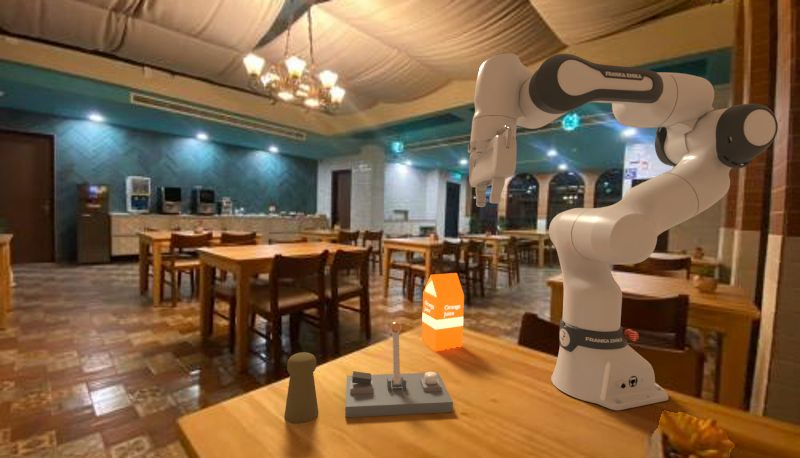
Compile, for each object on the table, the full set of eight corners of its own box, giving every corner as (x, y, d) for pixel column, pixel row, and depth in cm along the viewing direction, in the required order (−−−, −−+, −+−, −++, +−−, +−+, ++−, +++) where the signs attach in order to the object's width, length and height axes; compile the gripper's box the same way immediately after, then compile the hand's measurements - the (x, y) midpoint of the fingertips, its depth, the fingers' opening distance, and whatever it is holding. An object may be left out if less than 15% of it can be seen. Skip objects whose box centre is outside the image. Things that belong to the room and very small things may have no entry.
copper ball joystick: (401, 386, 73) (400, 321, 77) (403, 387, 71) (401, 321, 75) (390, 386, 73) (389, 322, 77) (391, 387, 71) (390, 321, 75)
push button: (435, 378, 75) (435, 371, 75) (438, 384, 72) (438, 377, 72) (423, 378, 74) (423, 371, 74) (425, 384, 72) (425, 377, 72)
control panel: (438, 381, 80) (438, 363, 80) (452, 412, 68) (453, 391, 68) (346, 384, 77) (346, 366, 77) (345, 417, 65) (345, 396, 65)
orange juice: (421, 341, 103) (423, 272, 102) (447, 337, 107) (449, 270, 106) (435, 351, 96) (437, 277, 95) (462, 347, 100) (465, 275, 98)
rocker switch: (369, 379, 73) (370, 373, 73) (370, 385, 71) (371, 379, 71) (352, 376, 72) (353, 371, 72) (352, 382, 70) (353, 376, 70)
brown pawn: (309, 425, 63) (309, 364, 62) (277, 420, 64) (277, 360, 63) (323, 406, 69) (324, 350, 68) (294, 402, 70) (294, 347, 69)
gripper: (528, 123, 63) (522, 202, 63) (493, 149, 83) (488, 209, 83) (493, 119, 63) (486, 199, 63) (466, 147, 83) (461, 206, 83)
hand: (487, 205), depth 73 cm, fingers open, 8 cm apart
